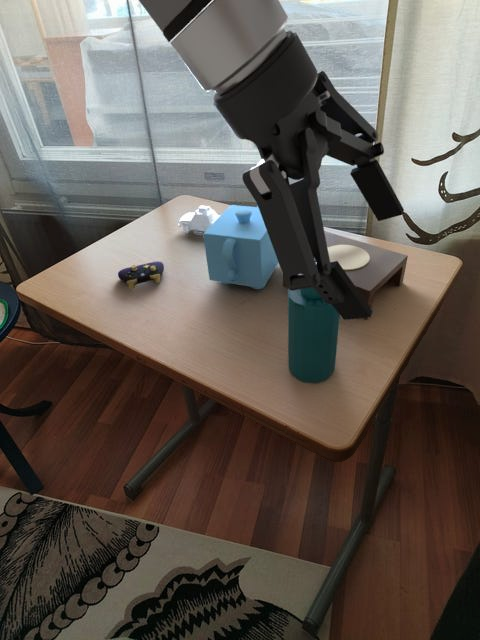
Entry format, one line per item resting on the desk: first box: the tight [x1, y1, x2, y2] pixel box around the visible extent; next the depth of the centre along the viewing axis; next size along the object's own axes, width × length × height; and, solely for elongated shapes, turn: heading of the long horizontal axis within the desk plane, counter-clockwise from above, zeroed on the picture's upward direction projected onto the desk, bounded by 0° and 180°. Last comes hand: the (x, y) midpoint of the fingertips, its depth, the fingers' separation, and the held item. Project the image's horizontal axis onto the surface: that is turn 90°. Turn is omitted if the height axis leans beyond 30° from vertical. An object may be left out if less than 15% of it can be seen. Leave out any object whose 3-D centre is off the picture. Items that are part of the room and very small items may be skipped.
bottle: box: [287, 259, 341, 384], centre depth 59 cm, size 7×7×18 cm
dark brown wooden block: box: [282, 230, 409, 320], centre depth 80 cm, size 18×14×6 cm
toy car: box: [178, 205, 221, 236], centre depth 102 cm, size 6×12×7 cm, turn 67°
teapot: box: [202, 204, 279, 290], centre depth 84 cm, size 22×11×14 cm, turn 158°
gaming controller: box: [117, 260, 165, 290], centre depth 88 cm, size 10×5×6 cm
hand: (376, 262), depth 42 cm, fingers open, 13 cm apart
